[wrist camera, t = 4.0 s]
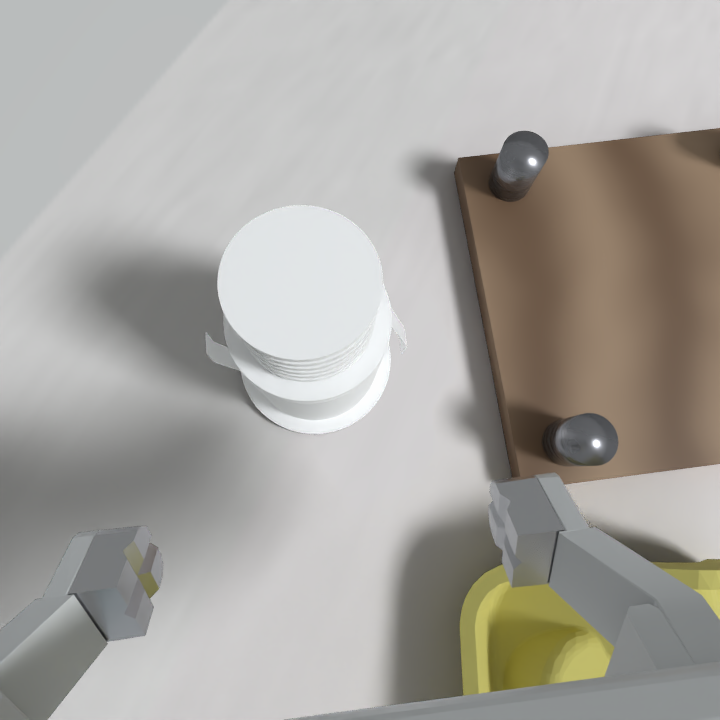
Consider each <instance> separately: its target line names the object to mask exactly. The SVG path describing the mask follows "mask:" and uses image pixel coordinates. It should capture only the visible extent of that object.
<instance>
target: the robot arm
mask: <svg viewBox="0 0 720 720" xmlns="http://www.w3.org/2000/svg"><path fill="white" fill-rule="evenodd" d="M490 494H491V497H492V500H493V501H492V502H491V503H490V504H489V513H488V516H489V523H490V529H491V533H492V536H493V539H494V542H495V545H496V546H498V547H499V548H500V549H501V550H503V554H502V564H503V566H504V569H505V571H506V574H507V577H508V579H509V582H510V585H511V587H512V588H514V587H524V586H534V585H543V584H549V587H550V588H552V589H553V590H554V591H555V592H556V593H557V594H558V595H559V596H560V597H561V598H562V599H563V600H564V601H566V602H567V603H568V604H569V605H570V606H571V607H572V608H573V609H574V610H575V611H576V612H577V613H578V614H579V615H581V616H582V617H583V618H584V619H585V620H586V621H587V622H588V623H589V624H590V625H591V626H592V627H593V628H595V629H596V630H597V631H598V632H599V633H600V634H601V635H602V636H603V637H604V638H605V639H606V640H607V641H609V642H610V643H611V644H612V645H613V646H614V647H615V648H614V651H613V653H612V656H611V659H610V662H609V665H608V668H607V670H606V673H605V677H598V678H591V679H584V680H576V681H569V682H561V683H554V684H546V685H539V686H532V687H524V688H517V689H509V690H502V691H495V692H487V693H480V694H472V695H464V696H457V697H449V698H442V699H434V700H427V701H419V702H412V703H404V704H397V705H389V706H382V707H374V708H367V709H359V710H352V711H344V712H337V713H329V714H322V715H315V716H307V717H300V718H292V719H285V720H720V620H719V618H718V617H717V615H716V614H715V613H714V611H713V610H712V608H711V607H710V606H709V604H708V603H707V601H706V600H705V599H704V597H703V596H702V595H701V594H699V593H698V592H696V591H695V590H693V589H691V588H690V587H688V586H687V585H685V584H684V583H682V582H681V581H679V580H678V579H676V578H674V577H673V576H671V575H670V574H668V573H667V572H665V571H664V570H662V569H660V568H659V567H657V566H656V565H654V564H653V563H651V562H650V561H648V560H646V559H645V558H643V557H642V556H640V555H639V554H637V553H636V552H634V551H632V550H631V549H629V548H628V547H626V546H625V545H623V544H622V543H620V542H618V541H617V540H615V539H614V538H612V537H611V536H609V535H608V534H606V533H605V532H603V531H601V530H600V529H598V528H597V527H592V528H590V527H589V526H588V524H587V522H586V521H585V519H584V517H583V516H582V514H581V512H580V511H579V509H578V507H577V505H576V504H575V502H574V500H573V499H572V497H571V495H570V494H569V492H568V490H567V488H566V487H565V485H564V483H563V482H562V480H561V478H560V477H559V475H558V474H556V473H555V472H554V473H547V474H539V475H534V476H532V475H530V476H522V477H515V478H508V479H501V480H494V481H492V482H491V484H490ZM151 536H152V534H151V533H150V531H149V529H148V527H147V526H135V527H125V528H115V529H105V530H98V531H89V532H80V533H78V534H77V535H76V536H74V537H73V539H72V540H71V542H70V544H69V546H68V548H67V550H66V552H65V554H64V556H63V558H62V560H61V562H60V564H59V566H58V568H57V570H56V572H55V574H54V576H53V578H52V580H51V582H50V584H49V586H48V588H47V590H46V592H45V594H44V596H43V598H41V599H35V600H34V601H33V602H32V603H31V604H30V605H28V606H27V607H26V608H25V609H24V610H23V611H22V612H20V613H19V614H18V615H17V616H16V617H15V618H14V619H13V620H11V621H10V622H9V623H8V624H7V625H6V626H5V627H3V628H2V629H1V630H0V720H47V719H48V718H49V717H50V716H51V714H52V713H53V712H54V711H55V709H56V708H57V707H58V706H59V704H60V703H61V702H62V701H63V699H64V698H65V697H66V696H67V694H68V693H69V692H70V691H71V689H72V688H73V687H74V686H75V684H76V683H77V682H78V681H79V679H80V678H81V677H82V676H83V674H84V673H85V672H86V671H87V669H88V668H89V667H90V666H91V664H92V663H93V662H94V660H95V659H96V658H97V657H98V655H99V654H100V653H101V652H102V650H103V649H104V648H105V647H106V645H107V644H108V643H107V642H108V641H115V640H121V639H127V638H134V637H140V636H145V635H146V632H147V629H148V625H149V622H150V618H151V615H152V612H153V608H154V606H153V604H152V602H151V600H150V598H151V597H152V596H153V595H154V594H155V592H156V591H157V590H158V589H159V588H160V584H161V580H162V575H163V561H162V556H161V553H160V551H159V548H158V547H156V546H155V545H153V544H151V543H149V542H150V539H151Z"/></svg>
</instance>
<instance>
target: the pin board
mask: <svg viewBox="0 0 720 720" xmlns="http://www.w3.org/2000/svg"><path fill="white" fill-rule="evenodd" d="M454 174H455V180H456V185H457V190H458V195H459V201H460V206H461V211H462V216H463V222H464V227H465V232H466V237H467V243H468V248H469V253H470V258H471V264H472V269H473V274H474V279H475V285H476V290H477V295H478V300H479V306H480V311H481V316H482V321H483V327H484V332H485V337H486V342H487V348H488V353H489V358H490V363H491V369H492V374H493V379H494V384H495V390H496V395H497V400H498V405H499V411H500V416H501V421H502V426H503V432H504V437H505V442H506V447H507V453H508V458H509V463H510V468H511V474H512V478H515V477H522V476H530V475H532V476H534V475H539V474H547V473H554V472H555V473H556V474H558V475H559V477H560V478H561V480H562V482H563V483H564V484H571V483H579V482H586V481H594V480H601V479H609V478H616V477H624V476H631V475H639V474H647V473H654V472H662V471H669V470H677V469H684V468H692V467H699V466H707V465H714V464H720V128H717V129H708V130H699V131H691V132H682V133H673V134H664V135H656V136H647V137H638V138H629V139H620V140H612V141H603V142H594V143H585V144H577V145H568V146H559V147H550V148H548V146H547V144H546V142H545V141H544V139H543V138H542V137H540V136H539V135H538V134H536V133H533V132H530V131H519V132H515V133H513V134H511V135H510V136H509V137H508V138H507V139H506V141H505V142H504V145H503V147H502V149H501V152H500V153H498V154H489V155H480V156H471V157H463V158H458V162H457V165H456V168H455V171H454Z"/></svg>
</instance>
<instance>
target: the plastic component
mask: <svg viewBox="0 0 720 720" xmlns="http://www.w3.org/2000/svg"><path fill="white" fill-rule="evenodd" d="M651 563H653V564H654V565H656V566H657V567H659V568H660V569H662V570H664V571H665V572H667V573H668V574H670V575H671V576H673V577H674V578H676V579H678V580H679V581H681V582H682V583H684V584H685V585H687V586H688V587H690V588H691V589H693V590H695V591H696V592H698V593H699V594H701V595H702V596H703V597H704V599H705V600H706V601H707V603H708V604H709V606H710V607H711V608H712V610H713V611H714V613H715V614H716V615H717V617H718V618H719V620H720V559H707V560H704V561H701V562H692V563H681V562H651ZM460 643H461V663H462V682H463V696H464V695H472V694H480V693H487V692H495V691H502V690H509V689H517V688H524V687H532V686H539V685H546V684H554V683H561V682H569V681H576V680H584V679H591V678H598V677H605V673H606V670H607V668H608V665H609V662H610V659H611V656H612V653H613V651H614V648H615V647H614V646H613V645H612V644H611V643H610V642H609V641H607V640H606V639H605V638H604V637H603V636H602V635H601V634H600V633H599V632H598V631H597V630H596V629H595V628H593V627H592V626H591V625H590V624H589V623H588V622H587V621H586V620H585V619H584V618H583V617H582V616H581V615H579V614H578V613H577V612H576V611H575V610H574V609H573V608H572V607H571V606H570V605H569V604H568V603H567V602H566V601H564V600H563V599H562V598H561V597H560V596H559V595H558V594H557V593H556V592H555V591H554V590H553V589H552V588H550V587H549V584H543V585H534V586H524V587H514V588H512V587H511V585H510V582H509V579H508V577H507V574H506V571H505V569H504V566H503V564H502V565H499V566H497V567H495V568H494V569H492V570H490V571H488V572H486V573H484V574H483V575H482V576H481V577H480V578H479V579H478V580H477V581H476V582H475V583H474V584H473V585H472V587H471V589H470V590H469V592H468V594H467V595H466V598H465V600H464V603H463V606H462V610H461V617H460Z"/></svg>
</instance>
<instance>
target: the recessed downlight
mask: <svg viewBox="0 0 720 720" xmlns="http://www.w3.org/2000/svg"><path fill="white" fill-rule="evenodd" d="M217 288H218V296H219V300H220V304H221V307H222V310H223V312H224V315H223V328H224V336H225V340H226V344H227V347H226V346H224V345H221V344H219V343H216V342H214V341H213V340H212V339H211V337H210V336H209V335H208V333H207V332H205V340H206V354H207V356H208V357H209V358H210V359H211V360H212V361H213V362H214V363H217V364H220V365H223V366H226V367H229V368H232V369H235V370H238V371H241V376H242V380H243V383H244V386H245V389H246V391H247V393H248V395H249V397H250V399H251V400H252V402H253V403H254V404H255V406H256V407H257V408H258V409H259V410H260V411H261V412H262V413H263V414H264V415H265V416H266V417H267V418H269V419H270V420H271V421H273V422H274V423H276V424H278V425H279V426H281V427H284V428H286V429H288V430H291V431H295V432H299V433H305V434H325V433H331V432H335V431H338V430H341V429H344V428H346V427H348V426H350V425H352V424H354V423H355V422H357V421H359V420H360V419H361V418H362V417H364V416H365V415H366V414H367V413H368V412H369V411H370V410H371V409H372V408H373V407H374V406H375V404H376V403H377V401H378V400H379V398H380V397H381V395H382V393H383V391H384V389H385V386H386V384H387V381H388V377H389V372H390V359H391V357H390V348H389V339H390V335H391V328H392V329H393V330H394V332H395V333H396V334H397V336H398V337H399V343H400V349H401V354H403V352H404V351H405V349H406V348H407V340H406V334H405V327H404V326H403V324H402V323H401V321H400V320H399V319H398V317H397V316H396V314H395V313H394V311H393V310H392V308H391V305H390V301H389V298H388V294H387V292H386V289H385V287H384V285H383V272H382V267H381V263H380V259H379V256H378V254H377V252H376V249H375V248H374V246H373V244H372V242H371V241H370V239H369V238H368V237H367V236H366V234H365V233H364V232H363V231H362V230H361V229H360V228H359V227H358V226H357V225H356V224H354V223H353V222H352V221H350V220H349V219H347V218H346V217H344V216H342V215H340V214H338V213H336V212H334V211H331V210H328V209H325V208H321V207H317V206H309V205H293V206H285V207H281V208H277V209H274V210H271V211H268V212H266V213H263V214H261V215H260V216H258V217H256V218H254V219H253V220H251V221H250V222H249V223H247V224H246V225H245V226H244V227H243V228H242V229H240V230H239V231H238V233H237V234H236V235H235V236H234V237H233V239H232V240H231V241H230V243H229V244H228V246H227V248H226V250H225V252H224V254H223V256H222V259H221V262H220V266H219V271H218V279H217Z"/></svg>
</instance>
